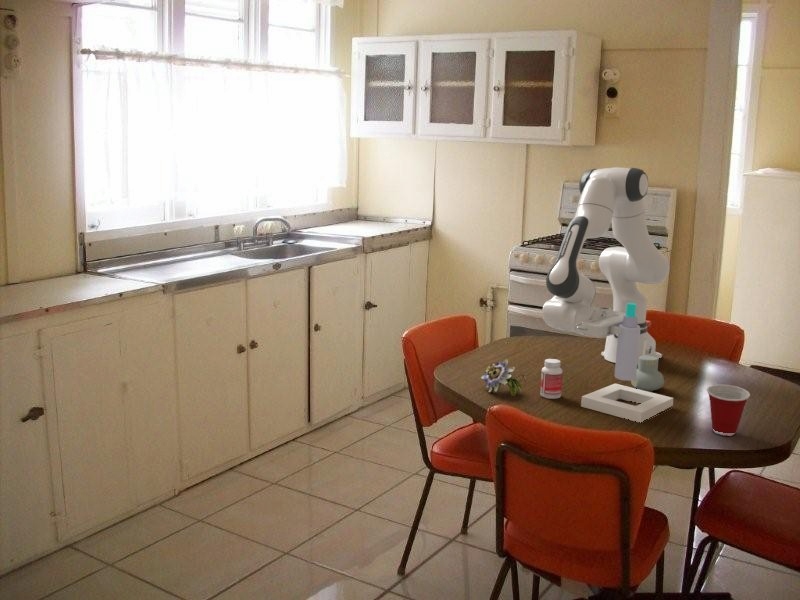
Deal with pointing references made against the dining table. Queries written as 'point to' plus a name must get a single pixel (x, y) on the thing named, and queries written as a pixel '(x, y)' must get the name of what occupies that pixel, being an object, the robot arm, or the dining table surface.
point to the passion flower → (501, 377)
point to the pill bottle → (551, 379)
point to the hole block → (607, 404)
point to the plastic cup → (726, 406)
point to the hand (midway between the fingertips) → (633, 330)
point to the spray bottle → (628, 346)
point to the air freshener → (648, 374)
